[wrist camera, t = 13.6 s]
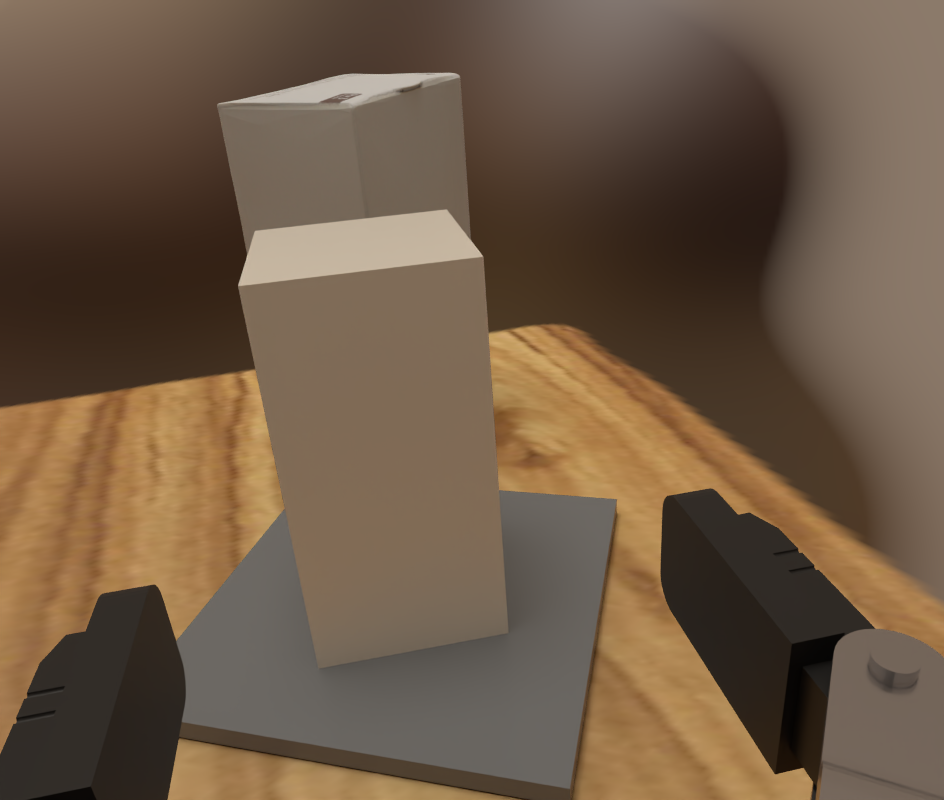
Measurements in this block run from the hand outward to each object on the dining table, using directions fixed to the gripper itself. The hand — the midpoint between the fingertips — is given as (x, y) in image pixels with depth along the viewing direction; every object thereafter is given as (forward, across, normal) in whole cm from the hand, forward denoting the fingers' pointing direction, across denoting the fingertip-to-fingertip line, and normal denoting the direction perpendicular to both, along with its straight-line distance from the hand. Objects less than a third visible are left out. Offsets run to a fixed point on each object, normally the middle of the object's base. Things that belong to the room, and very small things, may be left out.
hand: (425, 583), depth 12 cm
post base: (+10, 0, +8) cm, 13 cm away
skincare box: (+21, 0, +8) cm, 23 cm away
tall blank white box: (+10, 0, +8) cm, 12 cm away
